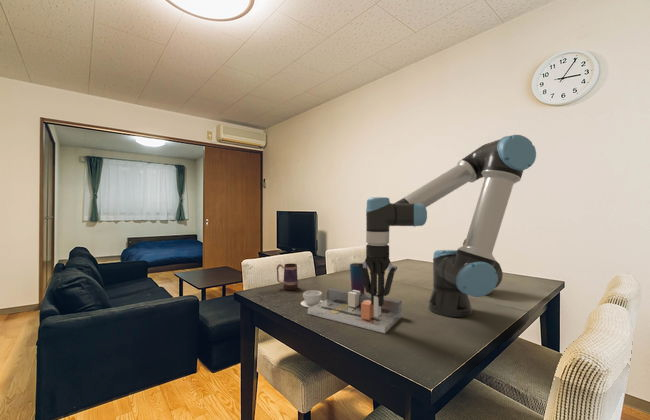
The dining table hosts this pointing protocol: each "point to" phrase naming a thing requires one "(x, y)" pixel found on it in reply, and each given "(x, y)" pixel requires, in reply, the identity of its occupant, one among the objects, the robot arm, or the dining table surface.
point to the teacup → (311, 298)
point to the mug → (289, 276)
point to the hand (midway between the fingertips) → (377, 315)
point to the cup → (356, 278)
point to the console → (357, 311)
